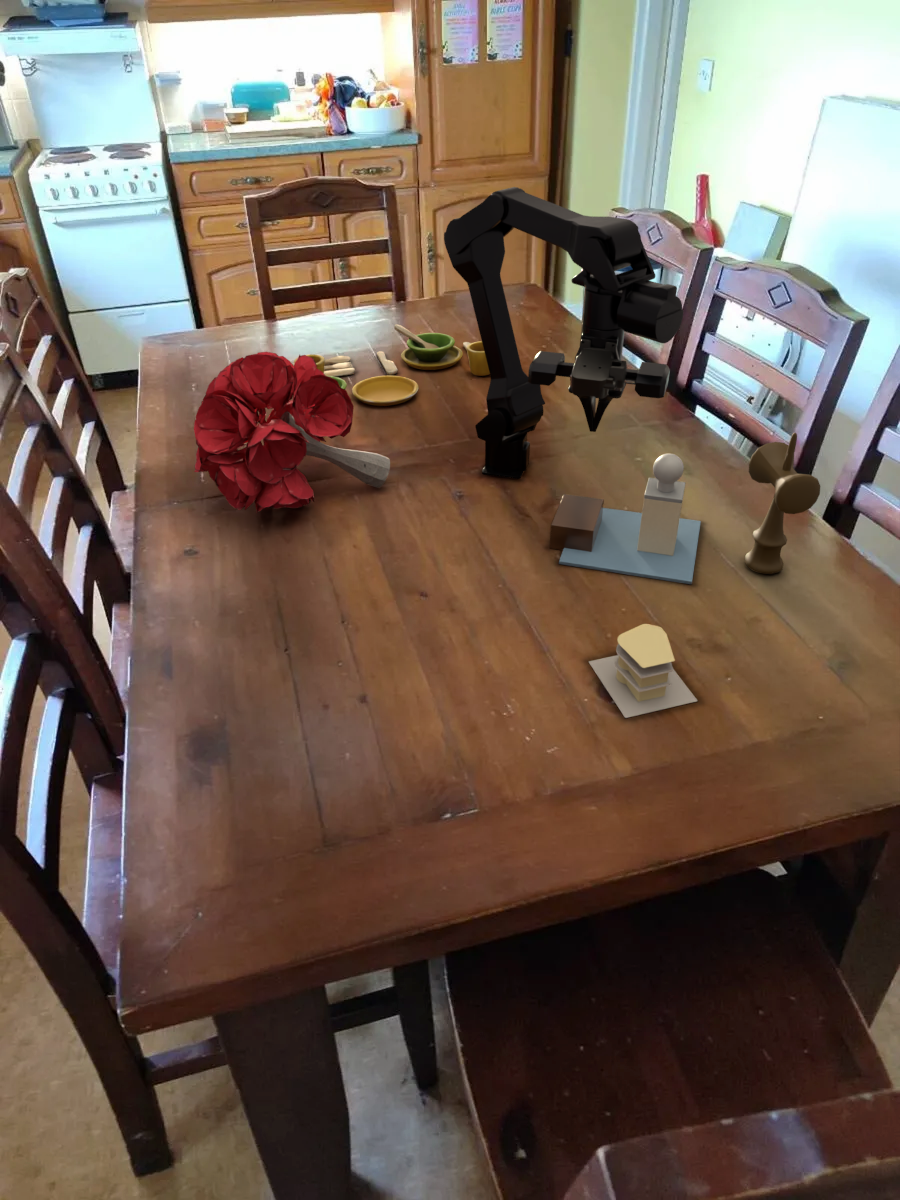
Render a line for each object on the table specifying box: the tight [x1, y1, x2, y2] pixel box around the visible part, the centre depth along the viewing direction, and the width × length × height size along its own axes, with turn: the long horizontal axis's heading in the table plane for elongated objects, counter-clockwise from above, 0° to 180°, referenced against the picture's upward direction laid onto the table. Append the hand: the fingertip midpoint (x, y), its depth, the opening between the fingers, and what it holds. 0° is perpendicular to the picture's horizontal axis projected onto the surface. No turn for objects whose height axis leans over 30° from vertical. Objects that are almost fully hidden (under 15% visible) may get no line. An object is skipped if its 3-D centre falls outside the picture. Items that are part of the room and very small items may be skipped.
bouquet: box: [193, 351, 391, 513], centre depth 129 cm, size 22×24×30 cm
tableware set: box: [292, 324, 490, 407], centre depth 171 cm, size 41×28×6 cm
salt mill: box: [637, 453, 687, 556], centre depth 118 cm, size 14×5×10 cm
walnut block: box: [549, 493, 605, 552], centre depth 124 cm, size 6×9×4 cm, turn 163°
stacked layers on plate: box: [588, 623, 699, 719], centre depth 98 cm, size 10×9×6 cm
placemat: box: [558, 507, 702, 585], centre depth 123 cm, size 18×16×1 cm
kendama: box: [744, 432, 821, 575], centre depth 112 cm, size 6×10×20 cm, turn 6°
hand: (593, 430), depth 123 cm, fingers closed
